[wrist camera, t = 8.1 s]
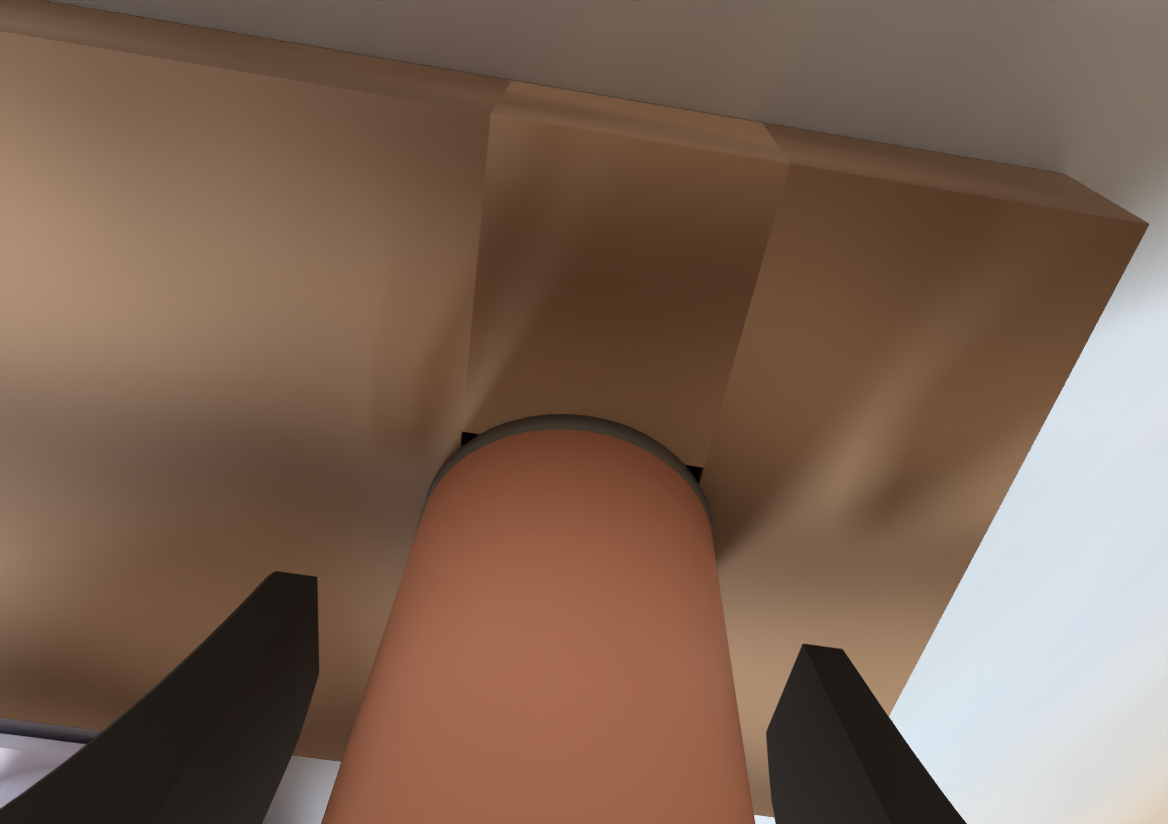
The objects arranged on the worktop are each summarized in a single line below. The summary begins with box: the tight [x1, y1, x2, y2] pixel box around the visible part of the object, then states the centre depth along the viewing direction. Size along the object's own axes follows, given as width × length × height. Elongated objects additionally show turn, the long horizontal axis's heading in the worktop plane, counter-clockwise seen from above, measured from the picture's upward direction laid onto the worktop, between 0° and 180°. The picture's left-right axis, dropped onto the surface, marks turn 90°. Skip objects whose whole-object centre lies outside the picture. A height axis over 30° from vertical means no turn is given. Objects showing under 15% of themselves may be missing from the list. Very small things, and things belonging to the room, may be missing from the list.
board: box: [0, 0, 1149, 817], centre depth 15 cm, size 14×20×2 cm
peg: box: [321, 414, 755, 824], centre depth 12 cm, size 5×5×10 cm
